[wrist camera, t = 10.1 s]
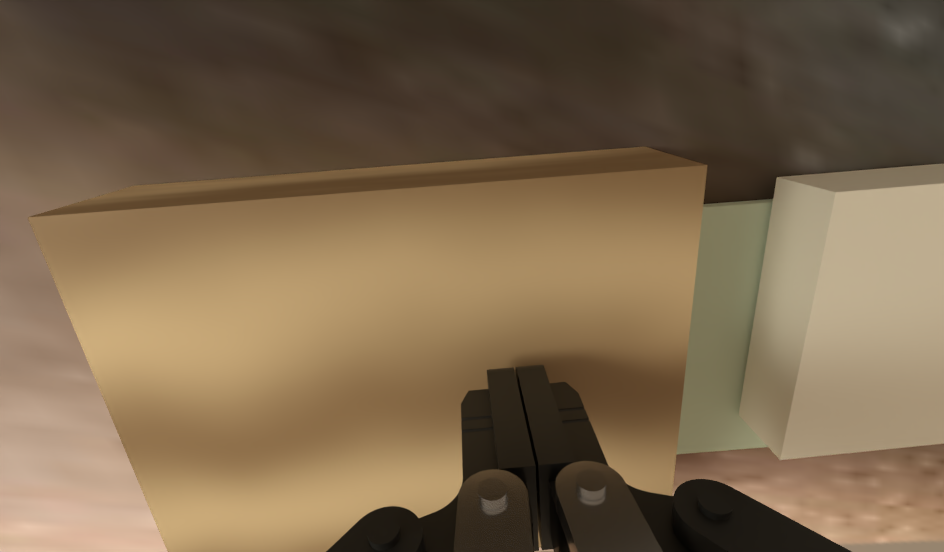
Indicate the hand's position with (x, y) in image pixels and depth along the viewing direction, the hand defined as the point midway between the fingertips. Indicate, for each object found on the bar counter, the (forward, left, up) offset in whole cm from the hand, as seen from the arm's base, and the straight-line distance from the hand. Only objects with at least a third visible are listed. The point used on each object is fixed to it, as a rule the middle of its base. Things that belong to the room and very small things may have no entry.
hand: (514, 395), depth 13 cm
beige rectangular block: (0, +12, -2) cm, 12 cm away
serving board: (0, -3, -5) cm, 6 cm away
